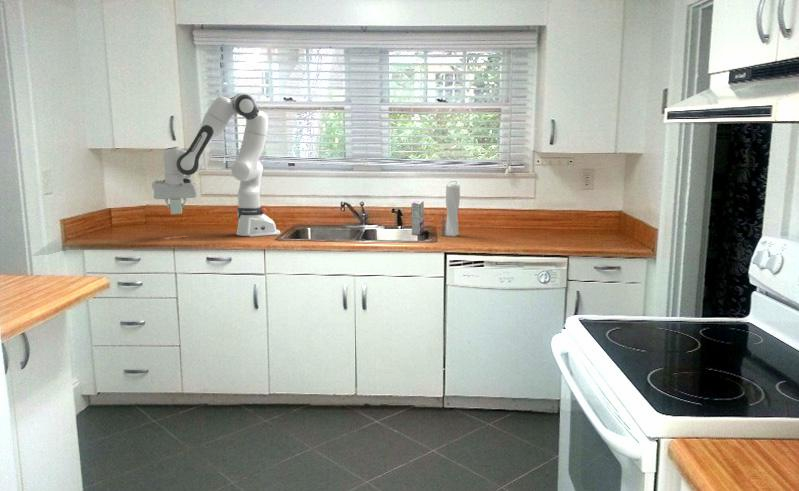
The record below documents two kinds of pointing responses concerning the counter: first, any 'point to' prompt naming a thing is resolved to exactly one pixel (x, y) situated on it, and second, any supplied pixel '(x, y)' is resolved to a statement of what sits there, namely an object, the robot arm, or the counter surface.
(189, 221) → the counter surface
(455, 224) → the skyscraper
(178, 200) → the sage block
